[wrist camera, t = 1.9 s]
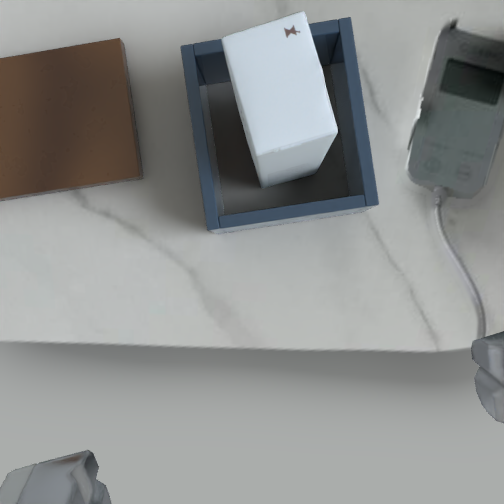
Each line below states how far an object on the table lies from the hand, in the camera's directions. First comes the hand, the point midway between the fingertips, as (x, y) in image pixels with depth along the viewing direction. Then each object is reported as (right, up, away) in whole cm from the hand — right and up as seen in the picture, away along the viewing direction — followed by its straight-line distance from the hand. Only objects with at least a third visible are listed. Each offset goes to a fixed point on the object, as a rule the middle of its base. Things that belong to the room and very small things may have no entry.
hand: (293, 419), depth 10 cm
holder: (+1, +11, +24) cm, 26 cm away
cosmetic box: (+1, +11, +24) cm, 26 cm away
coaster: (-15, +13, +24) cm, 32 cm away
